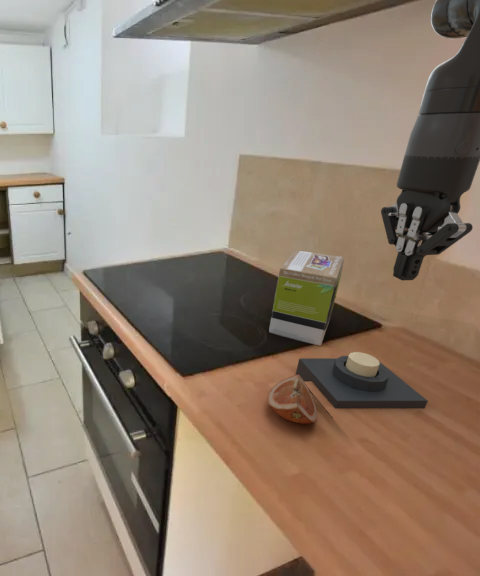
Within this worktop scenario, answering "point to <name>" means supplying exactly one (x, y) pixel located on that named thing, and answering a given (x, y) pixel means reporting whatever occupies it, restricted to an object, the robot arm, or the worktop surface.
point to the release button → (362, 364)
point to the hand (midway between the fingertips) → (403, 278)
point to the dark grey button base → (357, 385)
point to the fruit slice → (293, 400)
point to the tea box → (305, 296)
